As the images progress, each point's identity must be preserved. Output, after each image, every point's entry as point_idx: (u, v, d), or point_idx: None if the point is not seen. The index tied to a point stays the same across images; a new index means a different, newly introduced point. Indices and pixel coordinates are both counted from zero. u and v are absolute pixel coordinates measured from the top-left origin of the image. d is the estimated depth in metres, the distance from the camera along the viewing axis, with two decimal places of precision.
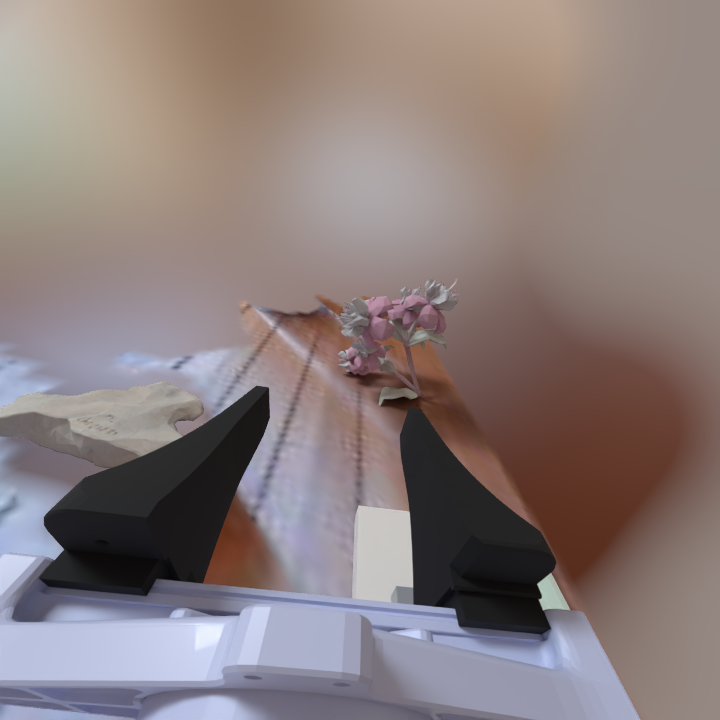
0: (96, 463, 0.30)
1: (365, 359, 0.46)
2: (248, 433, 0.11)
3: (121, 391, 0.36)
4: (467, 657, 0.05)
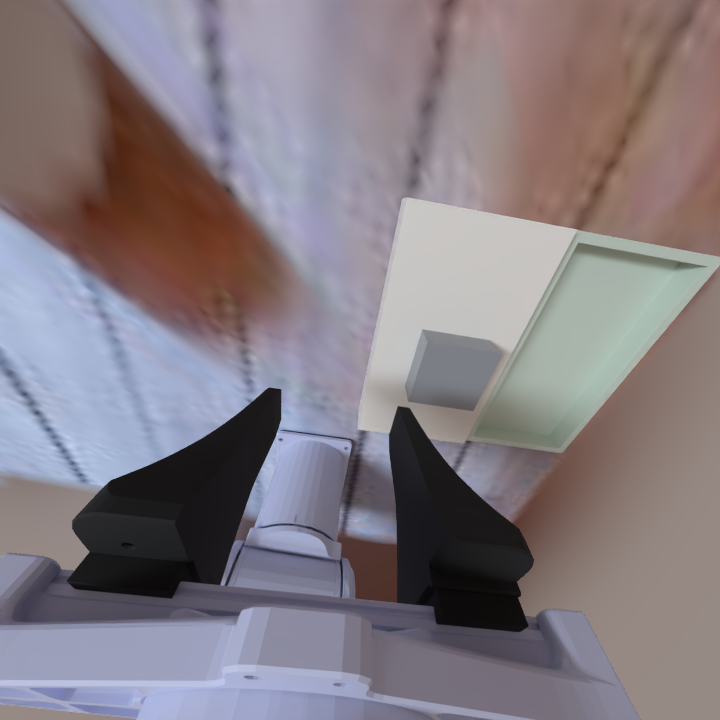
0: None
1: None
2: (262, 435, 0.11)
3: None
4: (467, 657, 0.05)
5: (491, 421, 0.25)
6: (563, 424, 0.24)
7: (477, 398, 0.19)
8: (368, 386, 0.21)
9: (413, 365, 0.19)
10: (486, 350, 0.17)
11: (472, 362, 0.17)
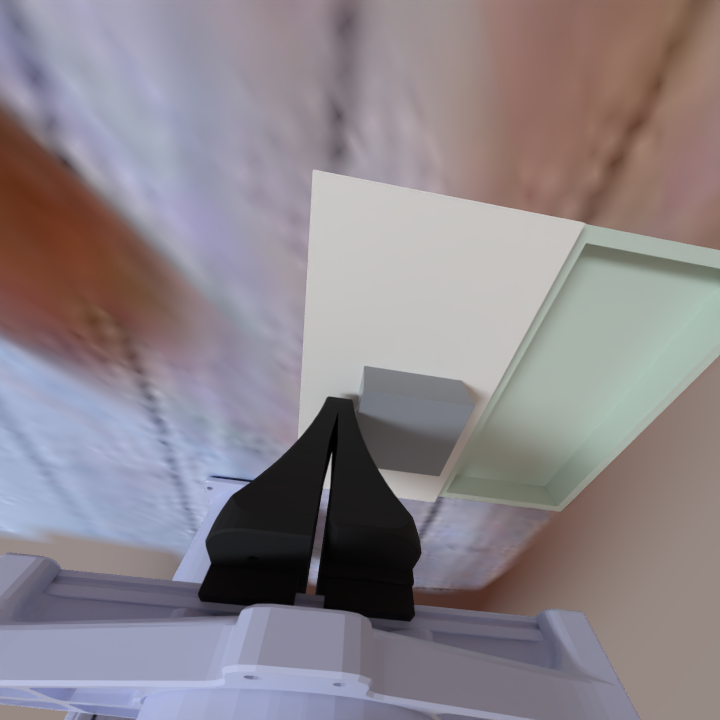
0: None
1: None
2: (330, 444, 0.11)
3: None
4: (467, 657, 0.05)
5: (471, 470, 0.20)
6: (562, 476, 0.19)
7: (443, 461, 0.13)
8: (300, 436, 0.15)
9: (355, 413, 0.14)
10: (451, 401, 0.11)
11: (432, 418, 0.12)
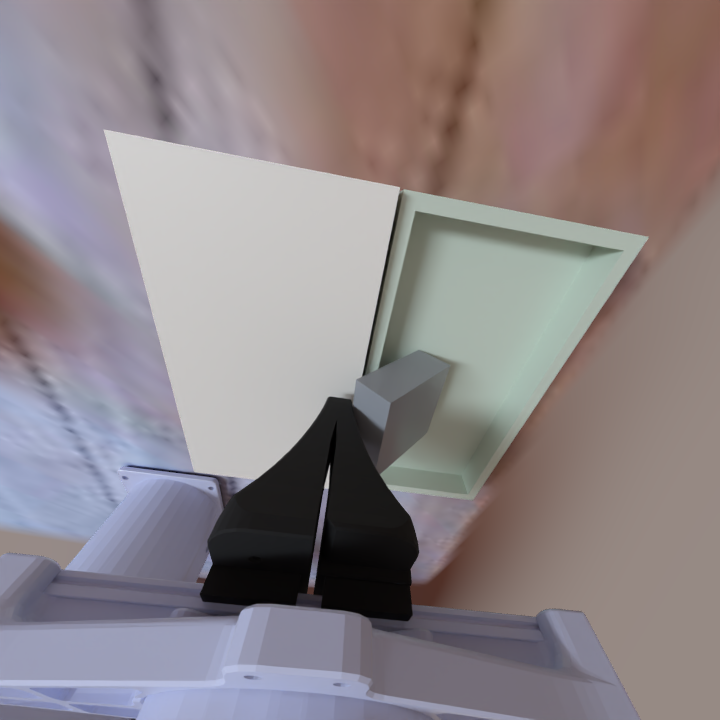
0: None
1: None
2: (332, 444, 0.11)
3: None
4: (467, 657, 0.05)
5: None
6: (473, 463, 0.19)
7: (430, 419, 0.15)
8: (182, 420, 0.15)
9: None
10: (438, 370, 0.13)
11: (429, 391, 0.13)
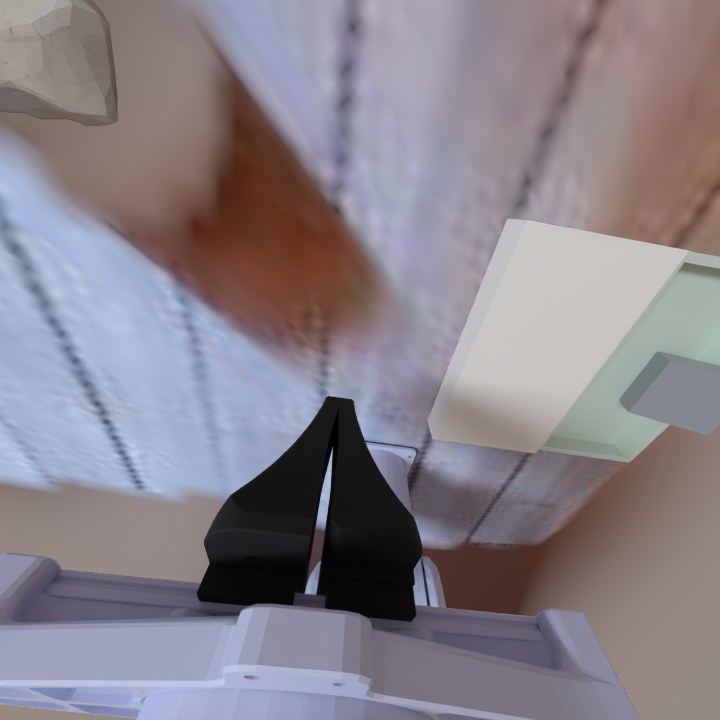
0: None
1: None
2: (330, 444, 0.11)
3: None
4: (467, 657, 0.05)
5: (558, 431, 0.26)
6: (631, 434, 0.25)
7: None
8: (451, 398, 0.21)
9: None
10: (674, 355, 0.20)
11: None
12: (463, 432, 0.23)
